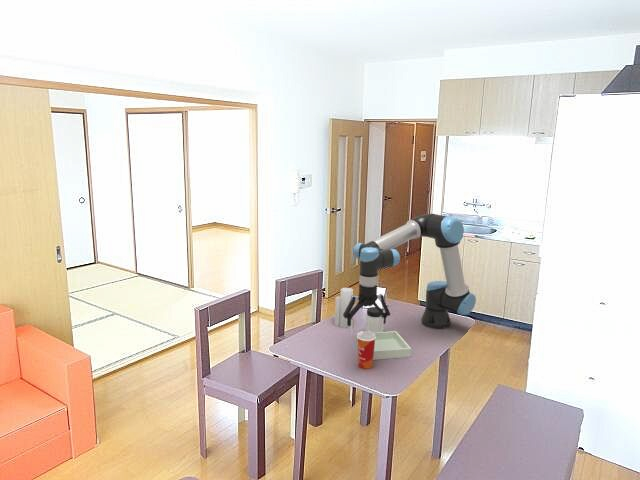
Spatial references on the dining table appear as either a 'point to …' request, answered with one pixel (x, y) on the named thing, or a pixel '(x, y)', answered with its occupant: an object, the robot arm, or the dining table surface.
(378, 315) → the jar
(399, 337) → the bin
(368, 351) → the coffee cup
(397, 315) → the dining table surface
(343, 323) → the candle
